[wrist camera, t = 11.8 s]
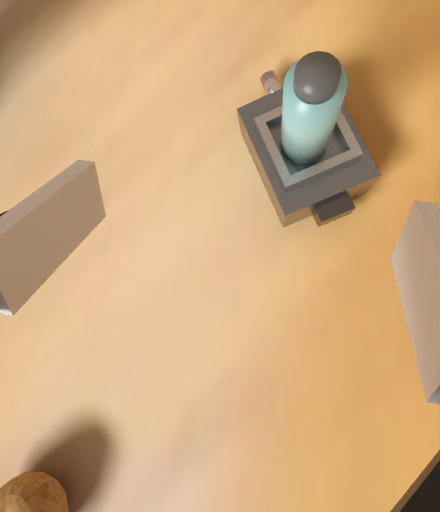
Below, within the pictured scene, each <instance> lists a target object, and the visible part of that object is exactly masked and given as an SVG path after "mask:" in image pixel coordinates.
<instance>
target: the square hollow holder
mask: <svg viewBox="0 0 440 512" xmlns="http://www.w3.org/2000/svg"><path fill="white" fill-rule="evenodd" d="M260 82H261V84H262V86H263V88H264V90H265V92H266V94H267V95H266V96H264V97H262V98H260V99H257V100H255V101H253V102H251V103H249V104H247V105H244V106H242V107H240V108H238V109H237V112H238V118H239V124H240V129H241V134H242V136H243V138H244V141H245V143H246V145H247V147H248V150H249V152H250V154H251V156H252V159H253V161H254V163H255V165H256V168H257V170H258V172H259V174H260V176H261V179H262V181H263V183H264V185H265V188H266V190H267V192H268V194H269V197H270V199H271V201H272V203H273V206H274V208H275V210H276V212H277V215H278V217H279V219H280V221H281V223H282V226H283V227H286V226H288V225H290V224H293V223H295V222H297V221H300V220H302V219H304V218H307V217H309V216H312V215H313V216H314V219H315V221H316V223H317V225H318V227H319V226H322V225H324V224H326V223H329V222H331V221H333V220H336V219H338V218H341V217H343V216H345V215H348V214H350V213H351V212H352V211H353V210H354V209H355V206H354V204H353V202H352V200H351V199H352V198H354V197H356V196H359V195H361V194H364V193H366V192H367V191H368V190H369V188H370V187H371V186H372V185H373V184H374V183H375V181H376V180H377V179H378V178H379V177H380V176H381V174H380V172H379V170H378V168H377V166H376V164H375V162H374V160H373V159H372V157H371V155H370V153H369V151H368V149H367V147H366V145H365V143H364V141H363V139H362V137H361V135H360V133H359V132H358V130H357V128H356V126H355V124H354V122H353V120H352V118H351V116H350V114H349V112H348V110H347V108H346V106H345V104H344V103H343V104H342V106H341V109H340V112H339V115H338V118H337V121H336V123H335V126H334V129H333V132H332V135H331V138H330V140H329V143H328V146H327V149H326V151H325V152H324V154H323V155H322V156H321V157H320V158H319V159H317V160H316V161H313V162H311V163H297V162H294V161H292V160H290V159H289V158H287V157H286V155H285V154H284V153H283V151H282V148H281V124H282V103H283V88H282V86H281V84H280V82H279V80H278V78H277V76H276V74H275V72H274V71H268V72H266V73H264V74H263V75H262V76H261V78H260Z"/></svg>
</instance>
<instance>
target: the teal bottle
mask: <svg viewBox="0 0 440 512" xmlns="http://www.w3.org/2000/svg"><path fill="white" fill-rule="evenodd" d="M347 89H348V77H347V73H346V71H345V69H344V68H343V66H342V65H341V64H340V63H339V61H338V60H337V58H336V57H334V56H333V55H332V54H330V53H327V52H322V51H317V52H312V53H309V54H307V55H305V56H304V57H302V58H301V59H300V60H299V61H297V62H296V63H295V64H293V65H292V66H291V68H290V69H289V70H288V72H287V74H286V76H285V79H284V83H283V103H282V124H281V148H282V151H283V153H284V154H285V155H286V157H287V158H289V159H290V160H292V161H294V162H297V163H311V162H313V161H316V160H317V159H319V158H320V157H321V156H322V155H323V154H324V152H325V151H326V149H327V146H328V143H329V140H330V138H331V135H332V132H333V129H334V126H335V123H336V121H337V118H338V115H339V112H340V109H341V106H342V104H343V101H344V98H345V95H346V92H347Z"/></svg>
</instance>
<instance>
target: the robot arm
mask: <svg viewBox="0 0 440 512" xmlns="http://www.w3.org/2000/svg"><path fill="white" fill-rule="evenodd" d="M105 216H106V214H105V210H104V205H103V200H102V195H101V191H100V186H99V181H98V177H97V172H96V167H95V162H90V161H82V160H78V161H77V162H75V163H74V164H72V165H71V166H70V167H68V168H67V169H66V170H64V171H63V172H61V173H60V174H59V175H57V176H56V177H54V178H53V179H52V180H50V181H49V182H48V183H46V184H45V185H43V186H42V187H41V188H39V189H38V190H37V191H35V192H34V193H32V194H31V195H30V196H28V197H27V198H26V199H24V200H23V201H21V202H20V203H19V204H17V205H16V206H15V207H13V208H12V209H10V210H9V211H6V212H4V213H2V214H0V313H2V314H6V315H11V316H13V315H14V314H15V313H16V312H17V311H18V310H19V309H20V308H21V307H22V306H23V305H24V304H25V303H26V301H27V300H28V299H29V298H30V297H31V296H32V295H33V294H34V293H35V292H36V291H37V290H38V289H39V287H40V286H41V285H42V284H43V283H44V282H45V281H46V280H47V279H48V278H49V277H50V276H51V275H52V273H53V272H54V271H55V270H56V269H57V268H58V267H59V266H60V265H61V264H62V263H63V262H64V261H65V259H66V258H67V257H68V256H69V255H70V254H71V253H72V252H73V251H74V250H75V249H76V248H77V247H78V245H79V244H80V243H81V242H82V241H83V240H84V239H85V238H86V237H87V236H88V235H89V234H90V233H91V231H92V230H93V229H94V228H95V227H96V226H97V225H98V224H99V223H100V222H101V221H102V220H103V219H104V217H105ZM391 262H392V266H393V270H394V274H395V278H396V282H397V286H398V290H399V294H400V298H401V302H402V306H403V309H404V313H405V317H406V321H407V325H408V329H409V333H410V337H411V341H412V345H413V349H414V353H415V357H416V361H417V365H418V369H419V373H420V377H421V381H422V385H423V389H424V393H425V397H426V401H427V402H429V403H434V404H439V405H440V210H439V208H438V206H437V204H436V203H429V202H421V201H414V203H413V205H412V207H411V210H410V212H409V215H408V217H407V220H406V222H405V224H404V227H403V229H402V232H401V234H400V236H399V239H398V241H397V244H396V246H395V249H394V251H393V253H392V256H391ZM391 512H440V450H439V451H438V453H437V454H436V455H435V456H434V458H433V459H432V460H431V462H430V463H429V464H428V465H427V467H426V468H425V469H424V470H423V472H422V473H421V474H420V475H419V477H418V478H417V479H416V480H415V482H414V483H413V484H412V485H411V487H410V488H409V489H408V490H407V492H406V493H405V494H404V495H403V497H402V498H401V499H400V500H399V502H398V503H397V504H396V505H395V507H394V508H393V509H392V510H391Z"/></svg>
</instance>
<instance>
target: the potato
mask: <svg viewBox="0 0 440 512" xmlns="http://www.w3.org/2000/svg"><path fill="white" fill-rule="evenodd" d="M0 512H69V509H68V502H67V495H66V492H65V491H64V489H63V487H62V486H61V484H60V483H59V481H58V480H56V479H55V478H53V477H52V476H50V475H48V474H47V473H44V472H25V473H23V474H21V475H19V476H17V477H15V478H13V479H11V480H10V481H9V482H7V483H6V484H5V485H4V486H2V487H1V488H0Z"/></svg>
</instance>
